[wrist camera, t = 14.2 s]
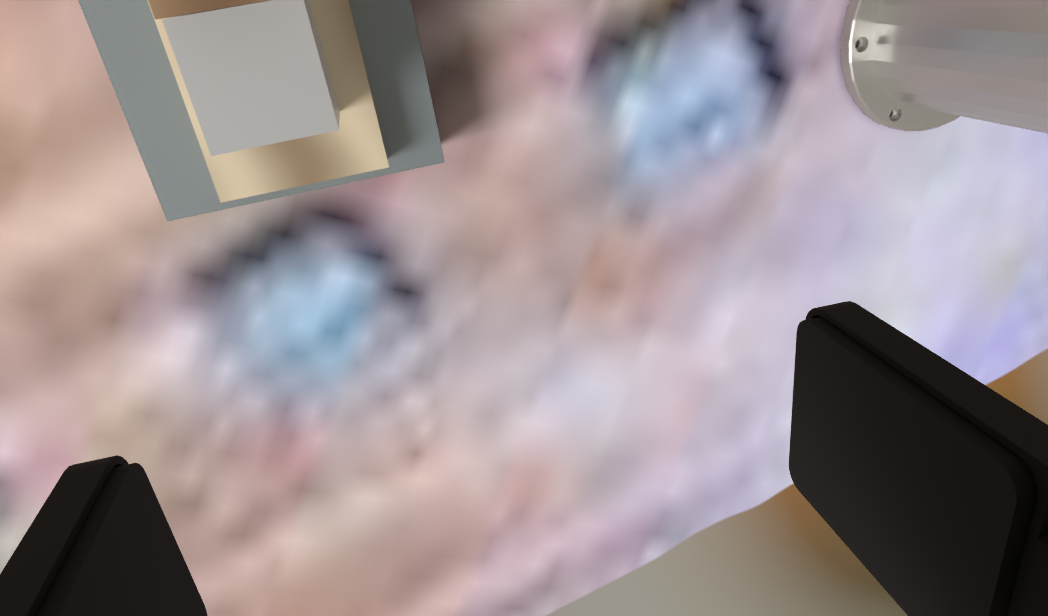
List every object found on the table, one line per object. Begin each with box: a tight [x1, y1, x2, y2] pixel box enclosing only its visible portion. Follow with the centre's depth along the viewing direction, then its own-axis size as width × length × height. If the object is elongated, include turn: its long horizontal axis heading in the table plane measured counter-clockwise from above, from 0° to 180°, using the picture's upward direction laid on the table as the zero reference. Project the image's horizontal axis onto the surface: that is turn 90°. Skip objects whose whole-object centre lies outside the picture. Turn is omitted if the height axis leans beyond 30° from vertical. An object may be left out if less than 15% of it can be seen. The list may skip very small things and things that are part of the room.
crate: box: [162, 0, 340, 156], centre depth 29 cm, size 5×5×5 cm
